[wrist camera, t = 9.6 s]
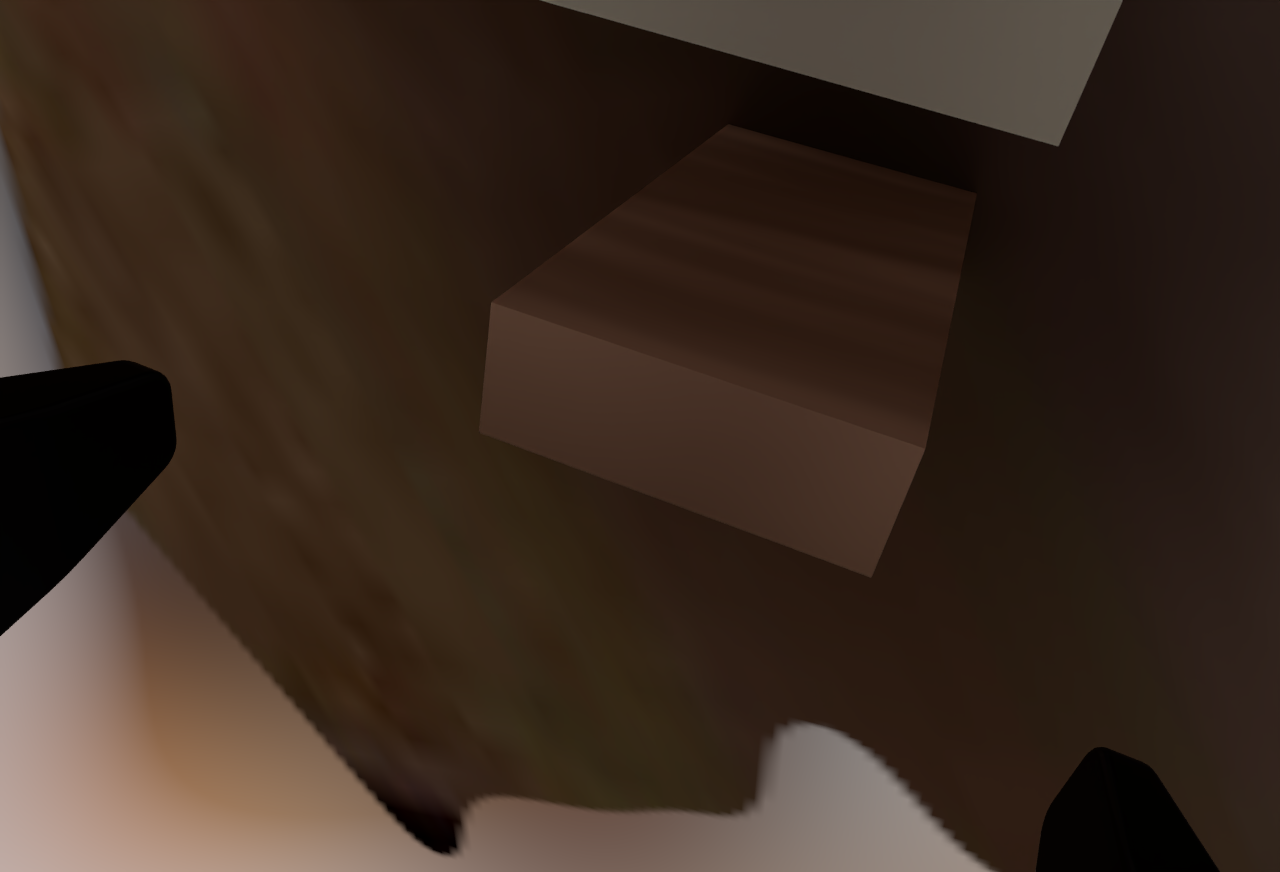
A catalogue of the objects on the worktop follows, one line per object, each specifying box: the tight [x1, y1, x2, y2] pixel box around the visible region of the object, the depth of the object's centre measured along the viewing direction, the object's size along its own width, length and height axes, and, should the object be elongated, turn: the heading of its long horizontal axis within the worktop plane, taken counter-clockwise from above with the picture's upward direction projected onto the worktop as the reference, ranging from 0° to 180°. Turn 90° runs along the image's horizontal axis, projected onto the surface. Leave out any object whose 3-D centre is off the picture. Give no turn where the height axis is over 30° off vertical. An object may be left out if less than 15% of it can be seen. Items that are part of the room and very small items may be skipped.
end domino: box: [479, 124, 977, 577], centre depth 15 cm, size 2×5×10 cm, turn 80°
